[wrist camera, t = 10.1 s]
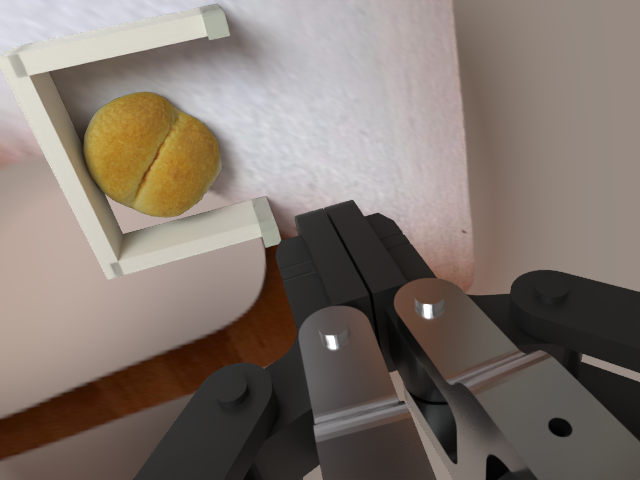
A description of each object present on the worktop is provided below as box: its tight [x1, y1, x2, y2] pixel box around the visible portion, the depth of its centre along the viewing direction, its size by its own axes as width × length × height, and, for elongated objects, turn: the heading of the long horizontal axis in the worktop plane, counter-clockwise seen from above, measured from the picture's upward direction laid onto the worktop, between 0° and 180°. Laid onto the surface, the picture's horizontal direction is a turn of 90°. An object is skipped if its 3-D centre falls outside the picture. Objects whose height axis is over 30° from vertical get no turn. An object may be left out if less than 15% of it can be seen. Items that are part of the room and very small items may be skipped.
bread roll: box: [84, 92, 222, 217], centre depth 34 cm, size 8×9×4 cm
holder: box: [0, 4, 281, 279], centre depth 33 cm, size 15×13×6 cm
